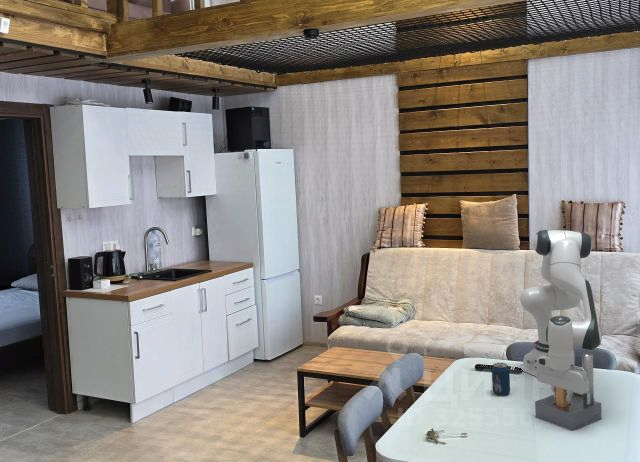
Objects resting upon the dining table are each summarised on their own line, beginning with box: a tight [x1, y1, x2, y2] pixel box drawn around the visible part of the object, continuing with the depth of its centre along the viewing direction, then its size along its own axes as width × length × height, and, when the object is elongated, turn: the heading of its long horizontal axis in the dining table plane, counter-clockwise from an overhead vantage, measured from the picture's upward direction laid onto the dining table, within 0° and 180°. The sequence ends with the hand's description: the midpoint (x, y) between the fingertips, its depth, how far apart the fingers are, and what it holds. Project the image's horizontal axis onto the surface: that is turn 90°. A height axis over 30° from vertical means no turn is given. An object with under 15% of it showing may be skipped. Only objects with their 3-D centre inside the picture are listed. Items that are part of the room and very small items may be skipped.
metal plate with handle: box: [534, 352, 602, 432], centre depth 236 cm, size 16×16×24 cm
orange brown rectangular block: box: [556, 387, 569, 408], centre depth 234 cm, size 3×3×10 cm
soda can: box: [491, 362, 511, 397], centre depth 265 cm, size 7×7×12 cm
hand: (562, 399), depth 235 cm, fingers closed on orange brown rectangular block, 3 cm apart
